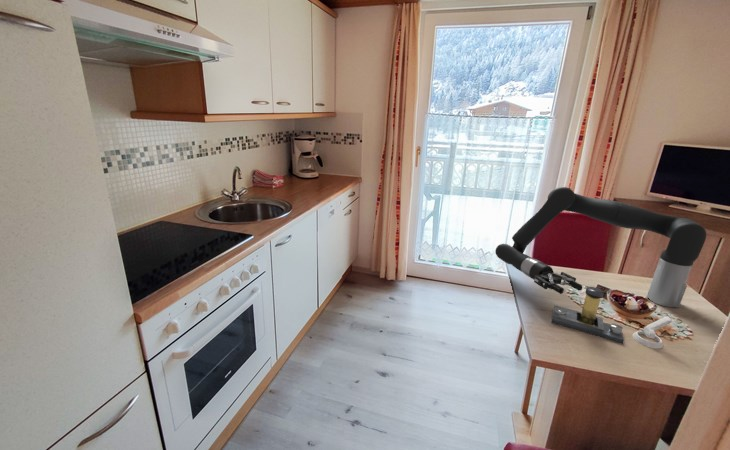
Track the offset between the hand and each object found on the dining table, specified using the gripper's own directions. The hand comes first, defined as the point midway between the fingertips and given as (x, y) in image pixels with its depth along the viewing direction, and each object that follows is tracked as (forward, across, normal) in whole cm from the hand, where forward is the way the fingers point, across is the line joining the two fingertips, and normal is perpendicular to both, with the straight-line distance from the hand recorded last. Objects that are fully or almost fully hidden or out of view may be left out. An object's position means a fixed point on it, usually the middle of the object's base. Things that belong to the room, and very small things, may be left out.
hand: (572, 289), depth 115 cm
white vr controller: (+19, +13, +10) cm, 25 cm away
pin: (+8, 0, +10) cm, 13 cm away
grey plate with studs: (+8, 0, +10) cm, 13 cm away
